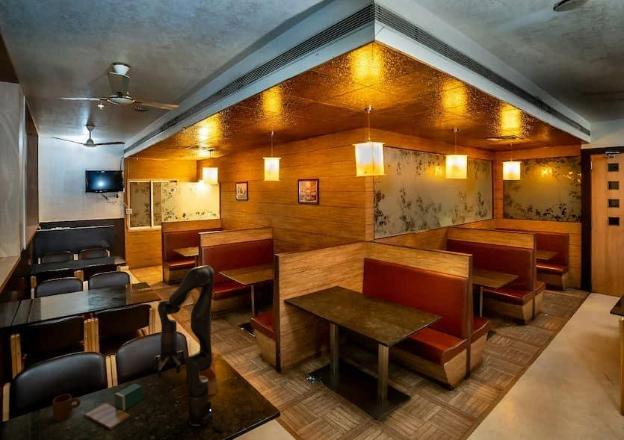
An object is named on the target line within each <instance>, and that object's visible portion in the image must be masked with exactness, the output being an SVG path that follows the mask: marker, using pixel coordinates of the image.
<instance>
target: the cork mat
mask: <svg viewBox="0 0 624 440" xmlns="http://www.w3.org/2000/svg"><path fill="white" fill-rule="evenodd" d="M84 416H85V417H86V418H89V419H90V420H92V421H94V422H96V423H97V424H100V425H101V426H103V427H105V428H107V429H108V430H112V429H114V428H116V427H118V426H119V425H120V424H121V423H123V422H125V421H126V420H129V419H130V418H131V417H132V415H131V414H129V413H127V412H125V411H121V410H119V409H117V408H115V406H113V405H111V404H109V403H107V402H104V403H103V404H100V405H99V406H97V407H95V408H94V409H92V410H89V411H88V412H86V413H85V414H84Z"/></svg>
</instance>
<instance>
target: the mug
mask: <svg viewBox="0 0 624 440" xmlns="http://www.w3.org/2000/svg"><path fill="white" fill-rule="evenodd" d="M74 402H76V403H75V404H73V403H74ZM81 403H82V402H81V399H80V398H79V397H73V398H72V394H70V393H62V394H60V395H57V396H55V397H54V398H53V399H52V417H53V420H54V421H55V422H63V421H65V420H68V418H70V417H72V415H73V409H76V408H78V407H80V405H81Z"/></svg>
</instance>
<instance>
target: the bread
mask: <svg viewBox="0 0 624 440" xmlns="http://www.w3.org/2000/svg"><path fill="white" fill-rule="evenodd" d="M198 352H199V351H197V352H196V353H198ZM199 376H205V377H207V378H208V380H209V396H211V395H212V396H213V395H217V382H218V380H217V379H218V378H217V368H216V359H215V355H214V352H212V365H211V367H210V368H209V369H208V370H206V371H204V372H202V373H200V374H199Z"/></svg>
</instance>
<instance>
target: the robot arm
mask: <svg viewBox="0 0 624 440" xmlns="http://www.w3.org/2000/svg"><path fill="white" fill-rule="evenodd" d="M214 284H215V272H214V269H213V267H212V266H211V265H206V264H205V265H202V266H197V267H193V268H191V269H189V270H188V272H187V273H186V274H185V276H184V277H183V280H182V281H181V283H180V284H179V286H178V287H177V288H176V290H175V291H174V292H173V293H171V295H170V296H169V298H168V299H167V300H161V301H160V302H158V304H157V313H158V317H159V320H160V326H161V327H160V332H161V334H160V355H154V356H153V363H152V369H154V370H157V371H156V376H157V378H159V379H161V378H162V375H163V373H162V372H163V371H162V369H163V367H164V366H165V365H166V364H169V363H175V364H176V365H175V373H176V374H178V375H179V374H180V372H181V365H182V364H184V363H185V373H186V382H187V387H188V414H189V415H188V423H189V425H190V426H192V427H202V428H203V427H204V426H206V425H207V424H209V423H210V424H212V426H213V428H214V429H215V430H216V431H217V432H220V433H223V430H222V429H221V428H218V426H217V425H216V423H215V422H214V421H213V413H212V401H211V400H210V395H209V380H208V378H207V377H205V376H199V374H200V373H202V372H204V371H206V370H208V369H209V368H210V367H211V365H212V353H213V352H212V305H213V294H214V293H213V291H214ZM195 289H200V292H199V296H198V298H197V300H196V302H195V304H194V306H193V308H192V310H191V313H190V329H191V332H192V333H193V335H194V336H195V337H196V339H197V340H198V342H199V351H197V352H198V353H197V352H195V353H193V354H191V355H189V356H188V357H187V358H186V360H185V353H184V350H182V349H181V350H179V351H178V331H177V328H178V327H177V325H178V324H177V320H176V319H175V318H169V315H175V314H178V313H180V311H181V309H182V307H183V304H185V302H187V301H188V299H189V297H190V295H191V292H192V291H193V290H195ZM177 357H179V359H178V358H177Z"/></svg>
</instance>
